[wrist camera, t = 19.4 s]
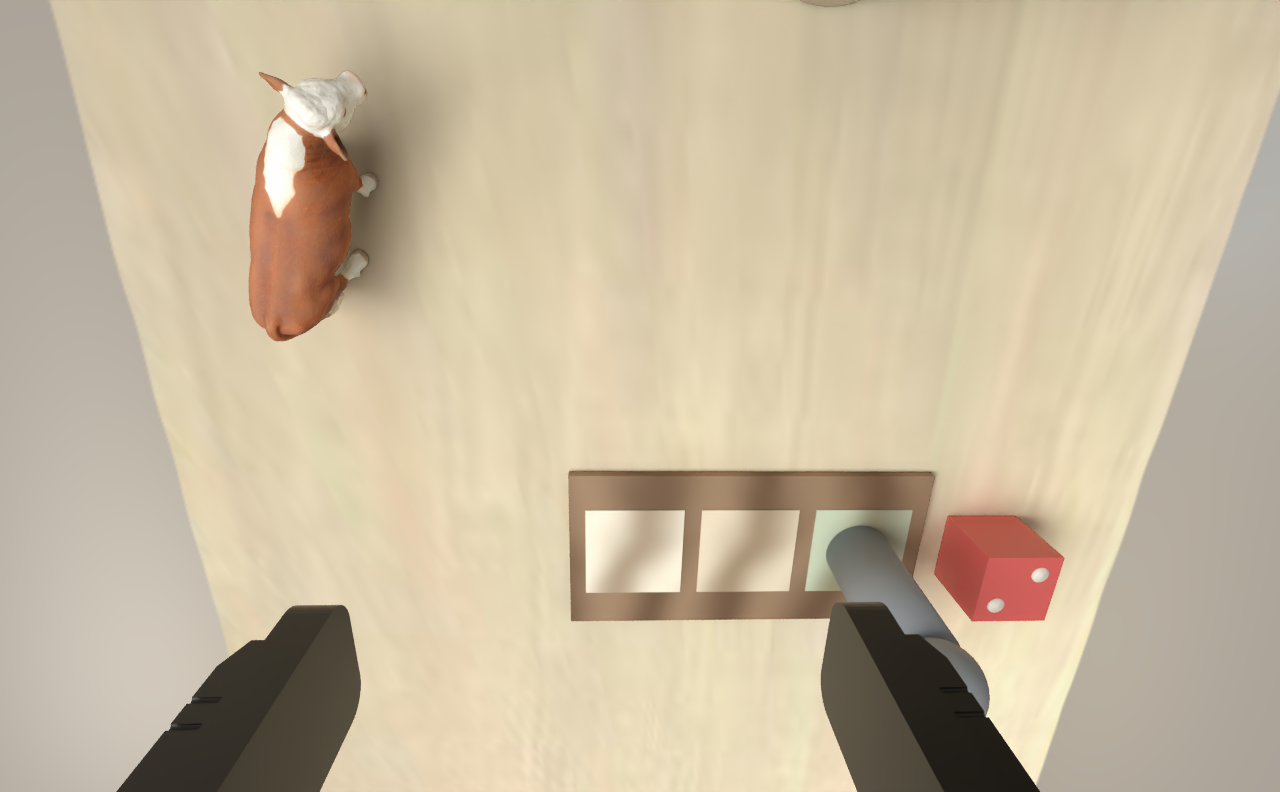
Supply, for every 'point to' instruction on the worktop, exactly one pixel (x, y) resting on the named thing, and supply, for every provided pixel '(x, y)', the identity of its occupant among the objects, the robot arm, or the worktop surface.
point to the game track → (727, 540)
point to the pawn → (897, 597)
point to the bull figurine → (305, 207)
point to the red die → (997, 568)
